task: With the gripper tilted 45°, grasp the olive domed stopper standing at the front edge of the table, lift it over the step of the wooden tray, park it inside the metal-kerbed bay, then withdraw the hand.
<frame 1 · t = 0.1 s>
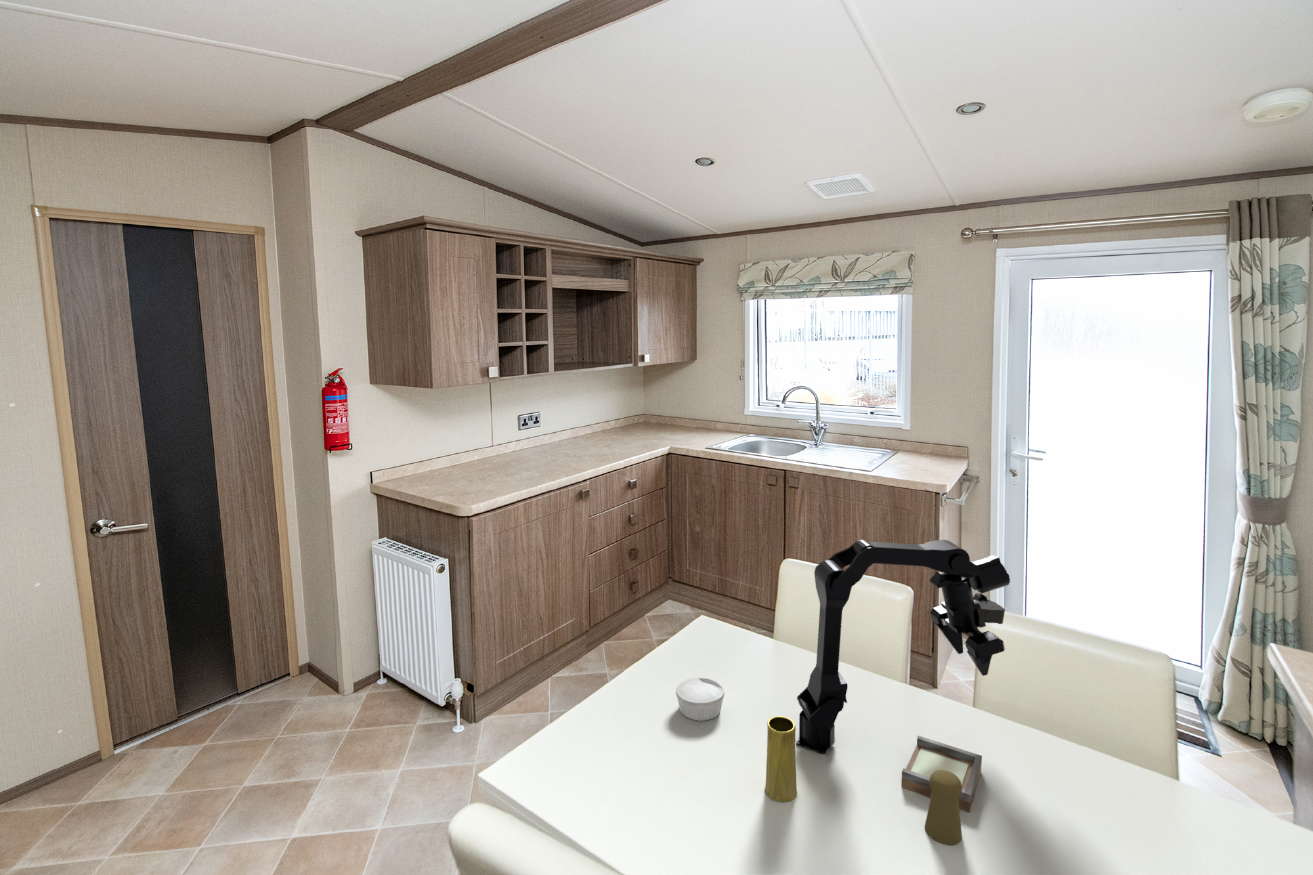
hand: (972, 663, 140), 15 cm above the table, tool pointing down, fingers open, 9 cm apart
olive domed stopper: (943, 832, 114), on the table
wooden tray: (941, 779, 127), on the table
ramekin: (700, 710, 152), on the table
vase: (780, 792, 125), on the table
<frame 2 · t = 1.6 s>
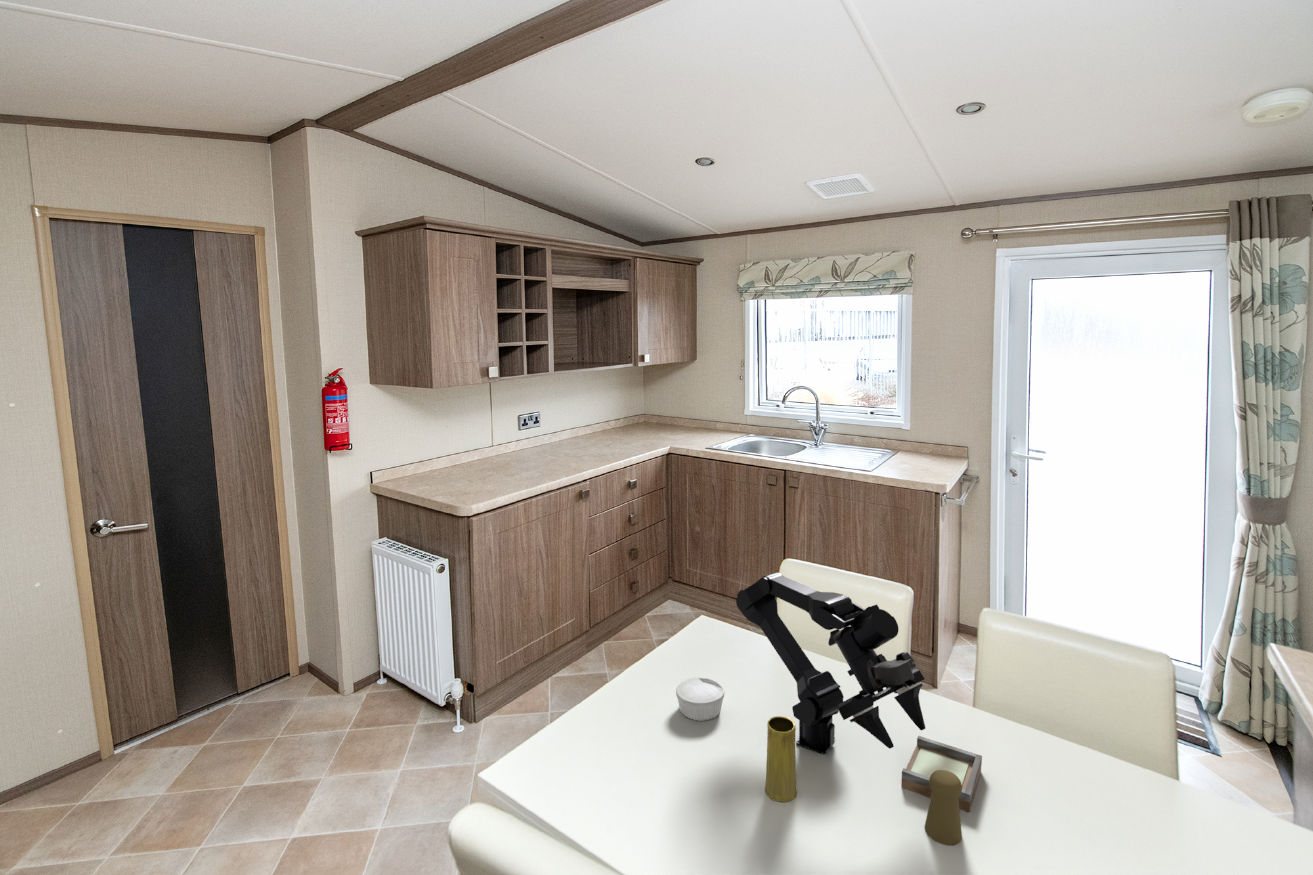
hand: (907, 738, 118), 13 cm above the table, tool tilted 45°, fingers open, 9 cm apart
nothing on the table moved.
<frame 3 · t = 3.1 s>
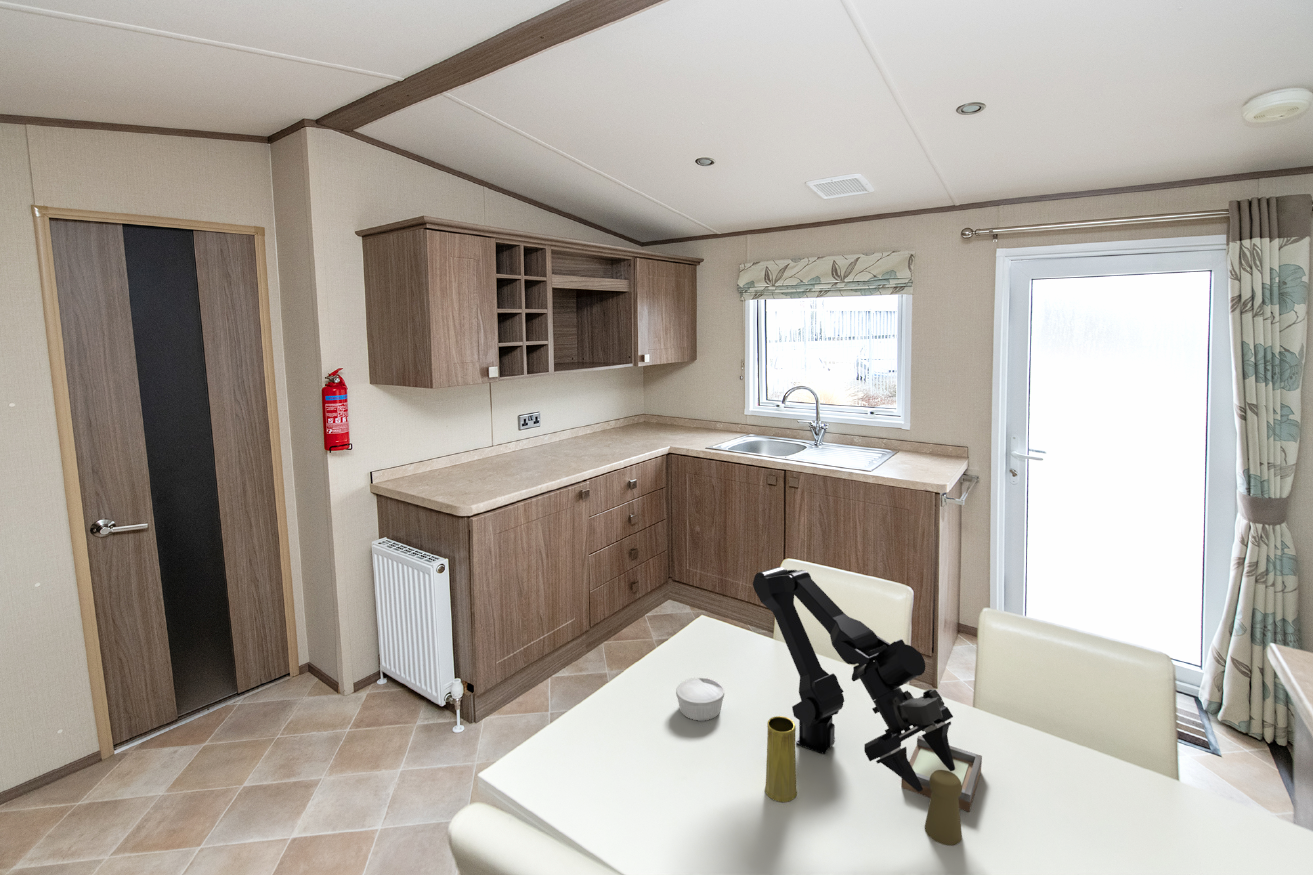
hand: (937, 780, 114), 9 cm above the table, tool tilted 45°, fingers open, 9 cm apart
nothing on the table moved.
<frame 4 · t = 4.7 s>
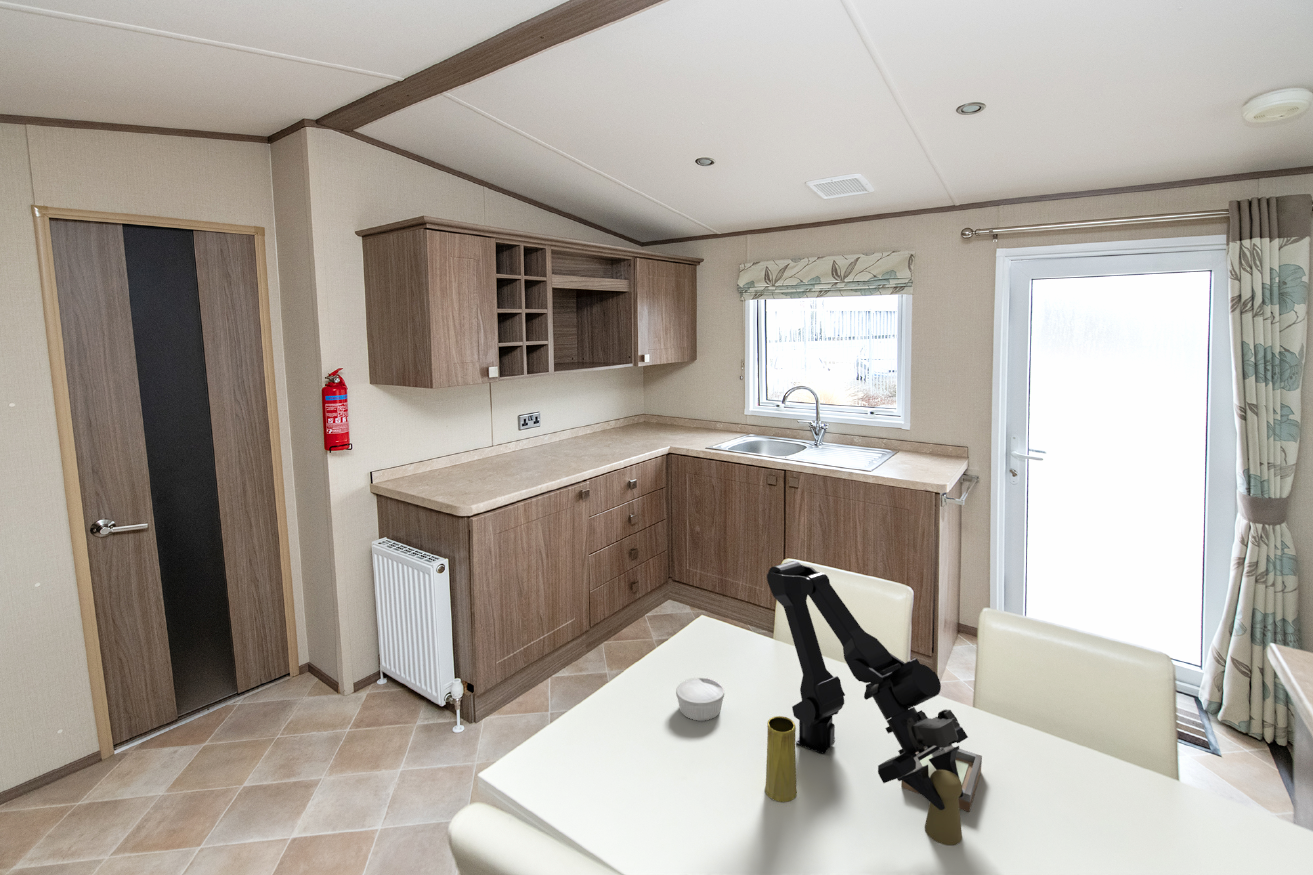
hand: (952, 803, 111), 7 cm above the table, tool tilted 45°, fingers closed on olive domed stopper, 5 cm apart
olive domed stopper: (943, 832, 114), on the table, touching gripper
everything else where it was.
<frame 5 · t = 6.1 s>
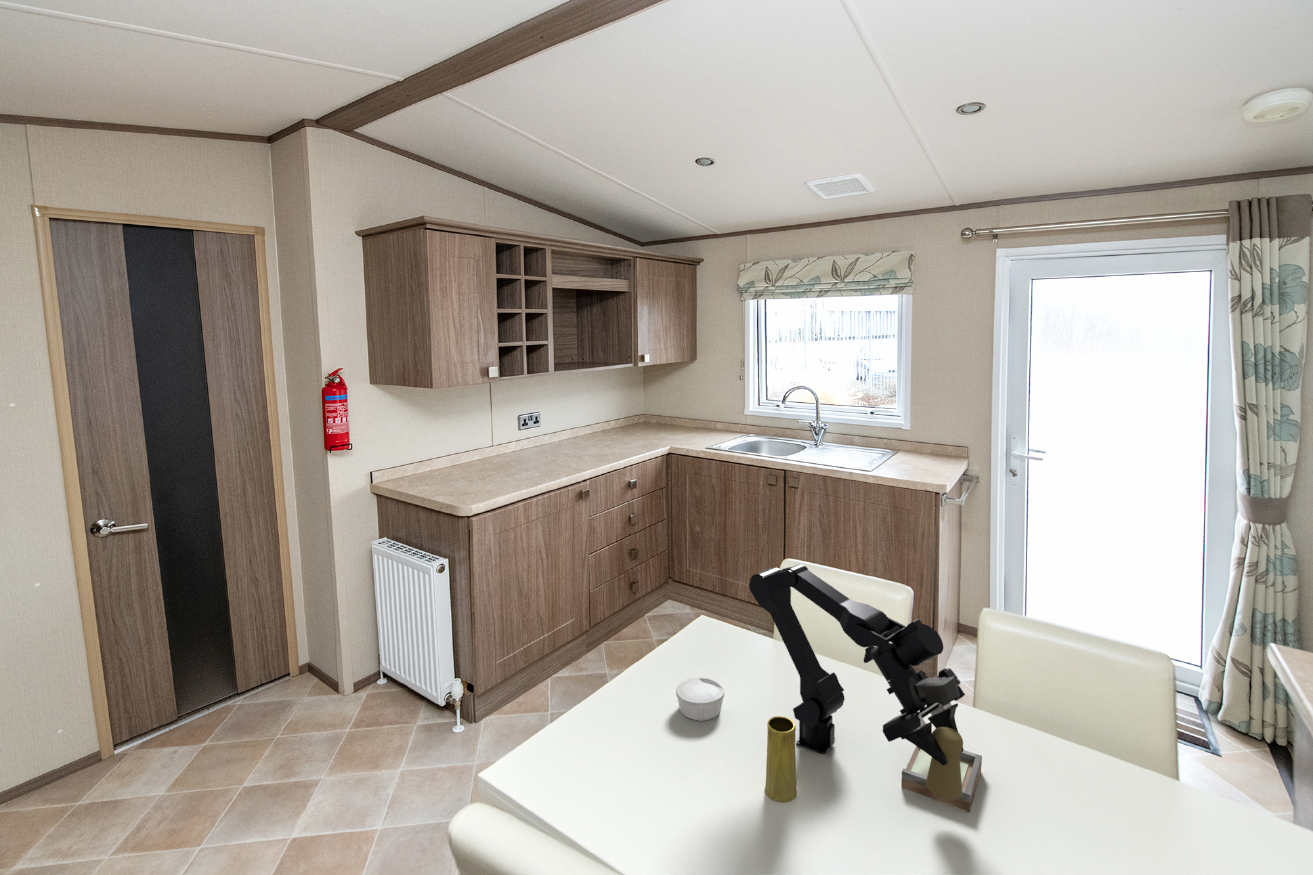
hand: (953, 758, 115), 12 cm above the table, tool tilted 45°, fingers closed on olive domed stopper, 5 cm apart
olive domed stopper: (943, 788, 117), point 5 cm above the table, touching gripper
everything else where it was.
when the fingers open (10 cm above the table, at t = 7.8 s): olive domed stopper stays where it is, resting on wooden tray.
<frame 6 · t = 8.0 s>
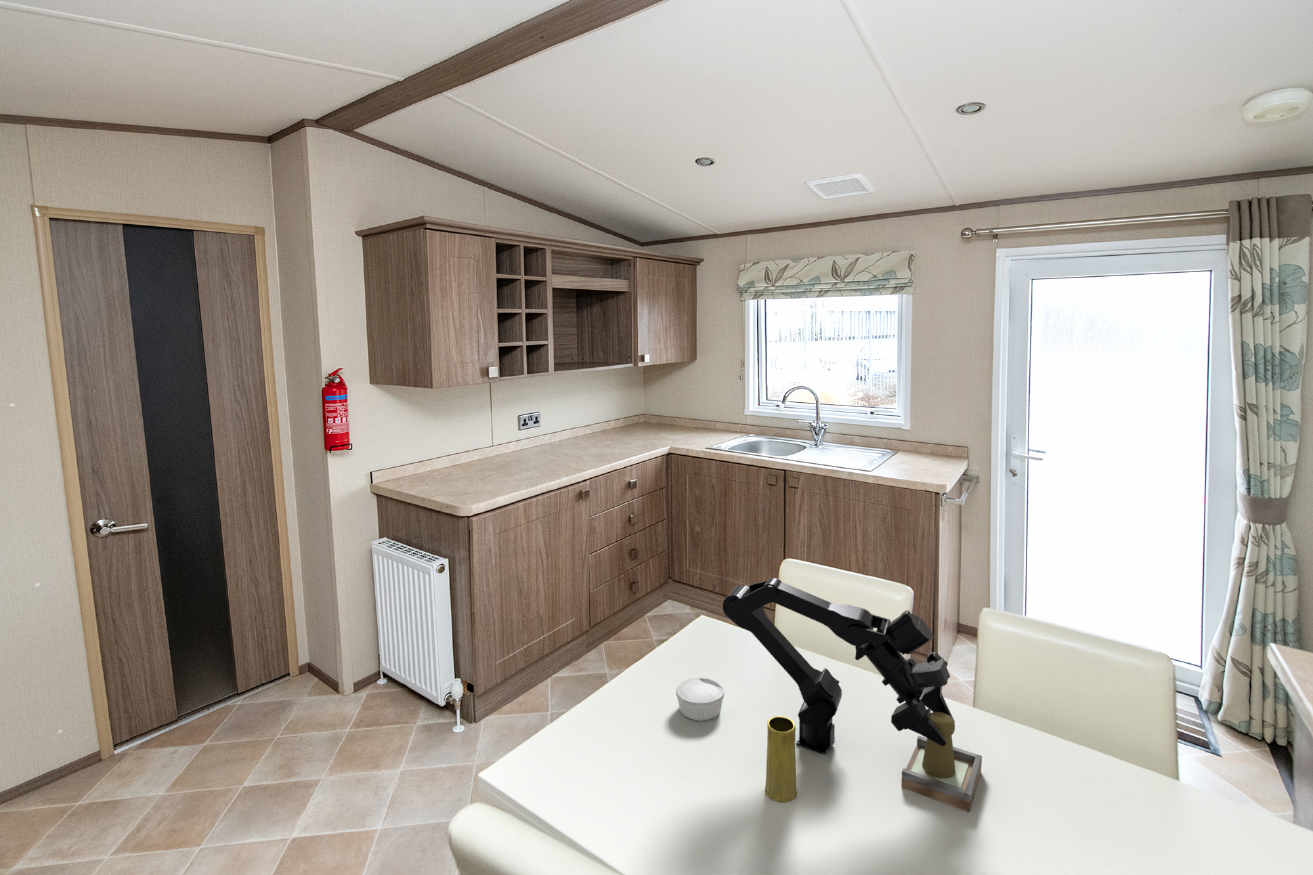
hand: (949, 734, 125), 10 cm above the table, tool tilted 45°, fingers open, 7 cm apart
olive domed stopper: (938, 768, 127), point 2 cm above the table, touching wooden tray
everything else where it was.
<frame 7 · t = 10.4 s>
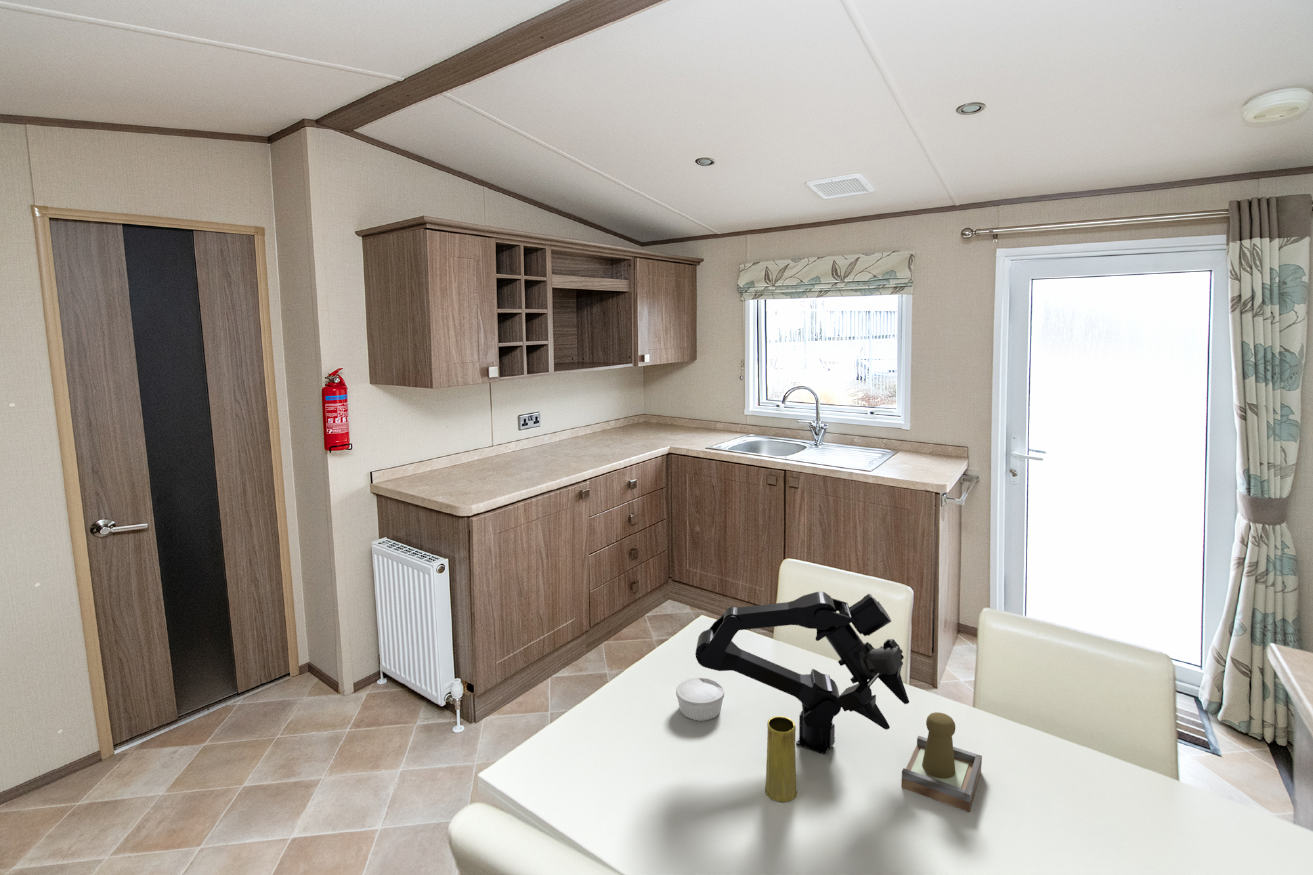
hand: (897, 715, 130), 11 cm above the table, tool tilted 40°, fingers open, 9 cm apart
nothing on the table moved.
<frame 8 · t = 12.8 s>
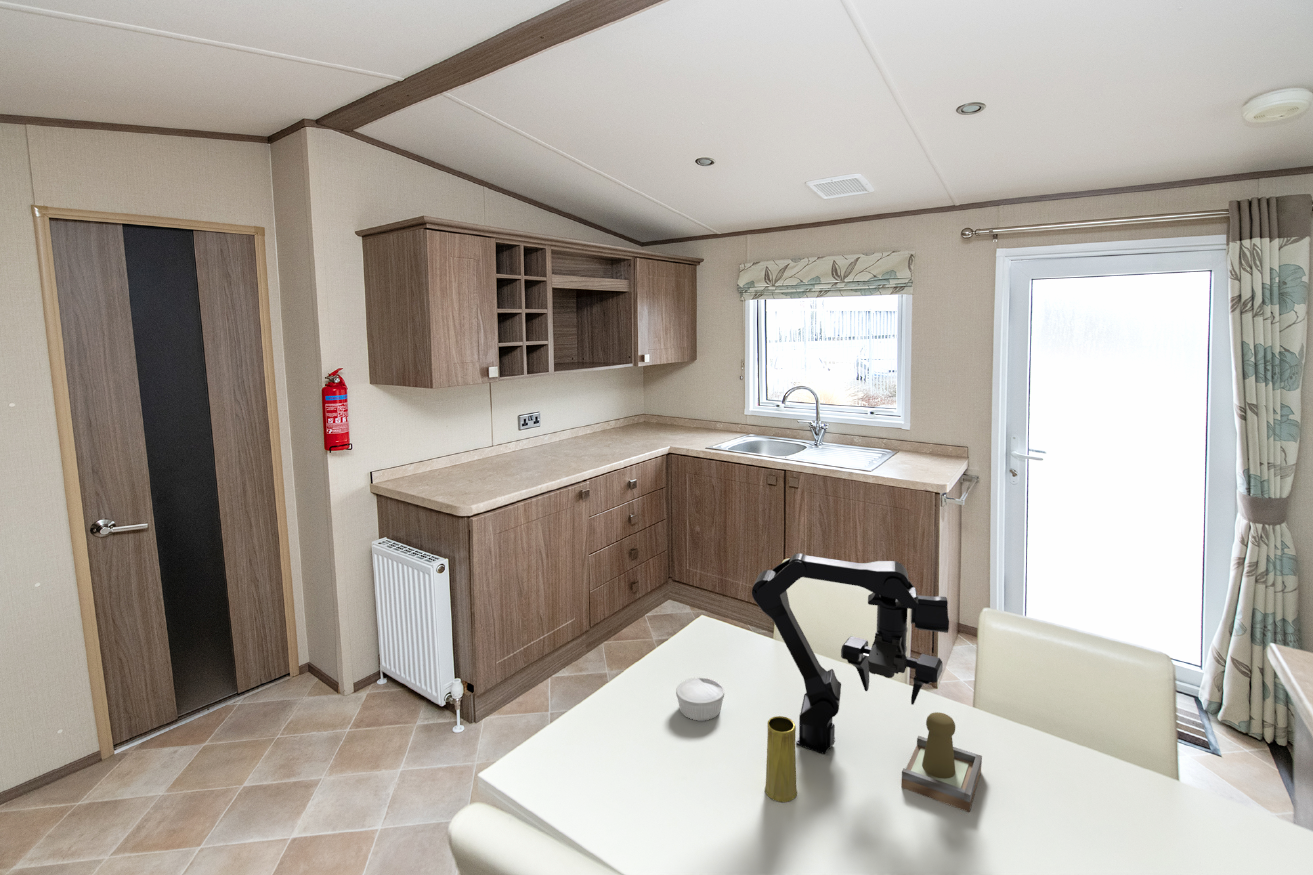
hand: (889, 696, 132), 13 cm above the table, tool pointing down, fingers open, 9 cm apart
nothing on the table moved.
at the end: olive domed stopper inside the target area on the wooden tray (0.2 cm from its centre), point 2.0 cm above the wooden tray's base; olive domed stopper tilted 0°; the gripper is holding nothing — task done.
